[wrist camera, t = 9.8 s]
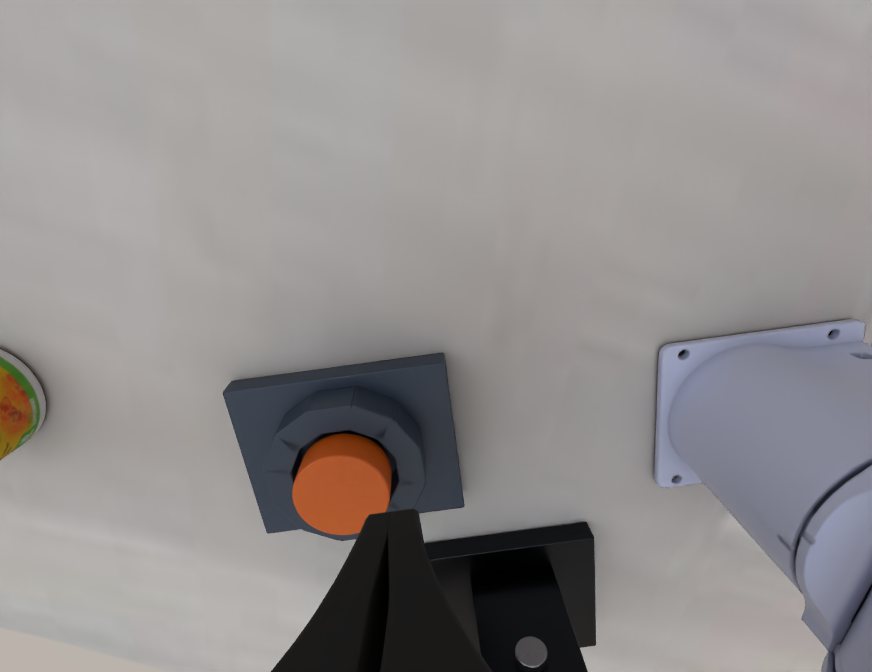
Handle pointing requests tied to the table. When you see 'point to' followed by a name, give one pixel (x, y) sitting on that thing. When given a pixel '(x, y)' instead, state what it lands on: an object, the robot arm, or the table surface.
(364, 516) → the button
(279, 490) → the button box
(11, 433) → the supplement bottle
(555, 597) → the switch bracket
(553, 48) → the table surface
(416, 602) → the robot arm
